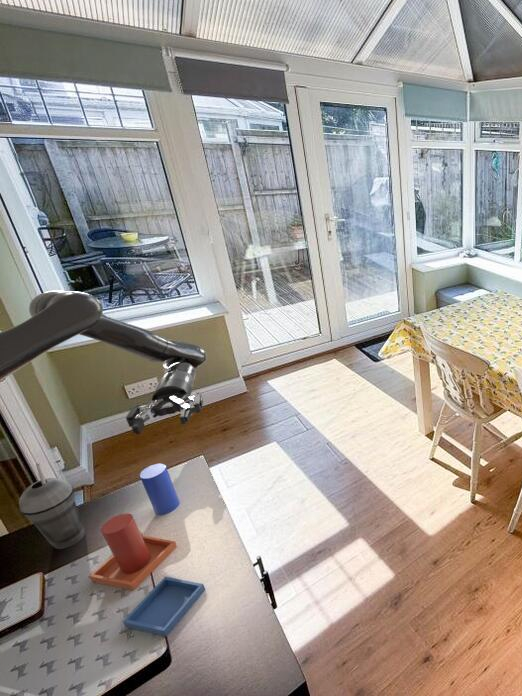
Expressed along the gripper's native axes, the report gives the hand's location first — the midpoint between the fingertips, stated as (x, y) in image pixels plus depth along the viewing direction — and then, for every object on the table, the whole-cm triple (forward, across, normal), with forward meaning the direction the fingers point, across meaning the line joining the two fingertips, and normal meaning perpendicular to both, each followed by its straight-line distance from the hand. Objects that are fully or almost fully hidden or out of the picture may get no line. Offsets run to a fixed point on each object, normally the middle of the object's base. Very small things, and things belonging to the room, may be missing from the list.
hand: (160, 426), depth 96 cm
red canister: (+25, -3, +14) cm, 29 cm away
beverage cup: (+13, -16, +15) cm, 25 cm away
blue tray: (+37, +4, +14) cm, 40 cm away
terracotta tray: (+25, -3, +14) cm, 29 cm away
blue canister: (+11, 0, +15) cm, 18 cm away
